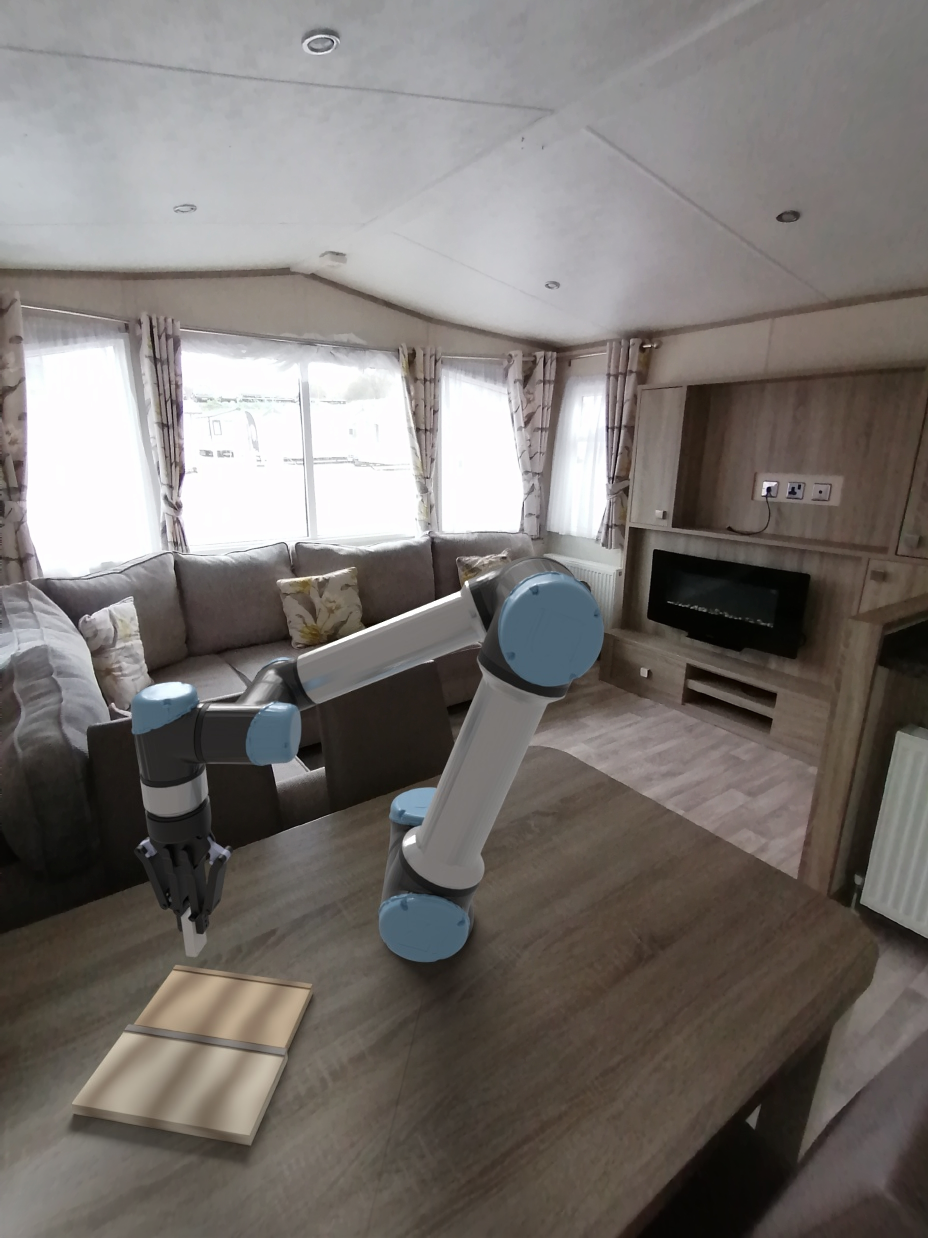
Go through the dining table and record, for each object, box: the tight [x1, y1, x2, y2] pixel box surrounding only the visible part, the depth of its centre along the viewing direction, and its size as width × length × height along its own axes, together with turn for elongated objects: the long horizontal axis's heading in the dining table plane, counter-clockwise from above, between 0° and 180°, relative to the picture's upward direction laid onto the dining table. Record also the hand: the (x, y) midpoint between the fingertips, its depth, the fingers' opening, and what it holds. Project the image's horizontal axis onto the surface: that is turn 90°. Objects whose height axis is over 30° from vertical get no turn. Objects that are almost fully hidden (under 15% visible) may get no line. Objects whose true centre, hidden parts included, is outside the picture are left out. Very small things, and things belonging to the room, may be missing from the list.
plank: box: [133, 964, 314, 1052], centre depth 84 cm, size 21×10×2 cm, turn 82°
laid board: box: [71, 1023, 289, 1146], centre depth 74 cm, size 22×10×2 cm, turn 82°
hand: (196, 948), depth 85 cm, fingers closed
